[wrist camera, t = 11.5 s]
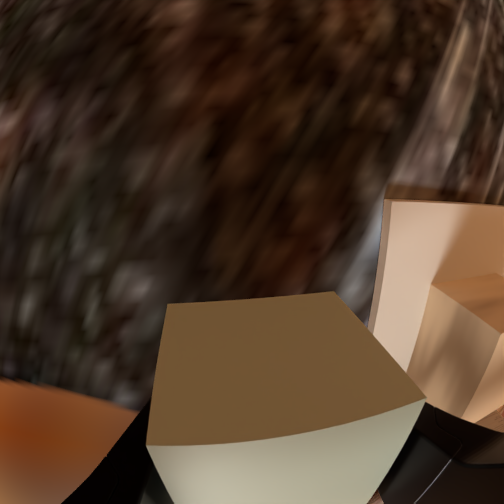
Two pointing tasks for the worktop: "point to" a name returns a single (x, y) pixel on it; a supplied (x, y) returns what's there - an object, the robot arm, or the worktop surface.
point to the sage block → (276, 403)
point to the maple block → (462, 347)
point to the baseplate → (428, 262)
